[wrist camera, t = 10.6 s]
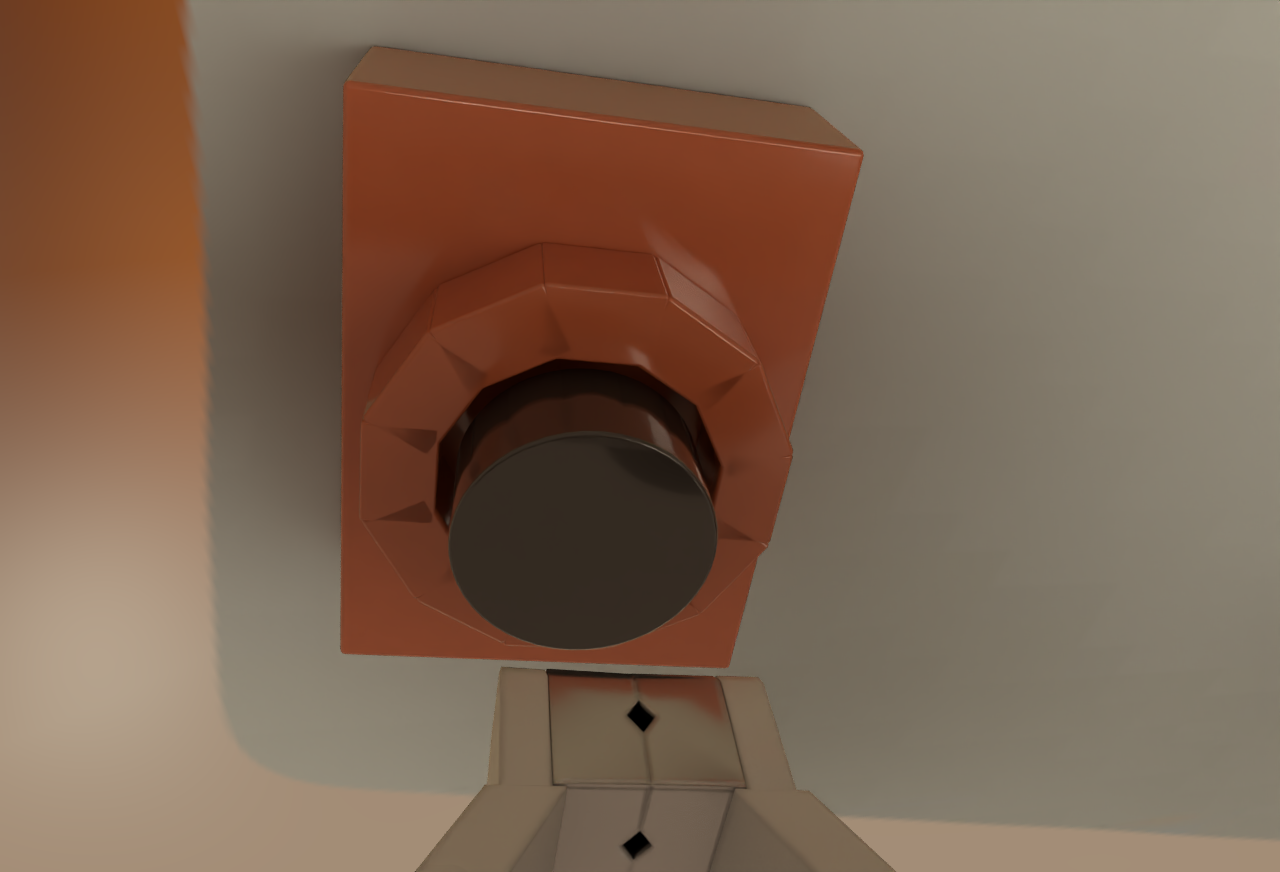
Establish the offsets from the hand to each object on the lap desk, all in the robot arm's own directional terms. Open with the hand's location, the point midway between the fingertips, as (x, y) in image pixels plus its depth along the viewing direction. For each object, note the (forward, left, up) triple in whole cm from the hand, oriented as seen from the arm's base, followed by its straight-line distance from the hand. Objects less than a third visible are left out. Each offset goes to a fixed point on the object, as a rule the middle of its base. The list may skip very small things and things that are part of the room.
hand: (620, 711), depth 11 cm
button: (0, 0, -6) cm, 6 cm away
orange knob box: (0, 0, -10) cm, 10 cm away
